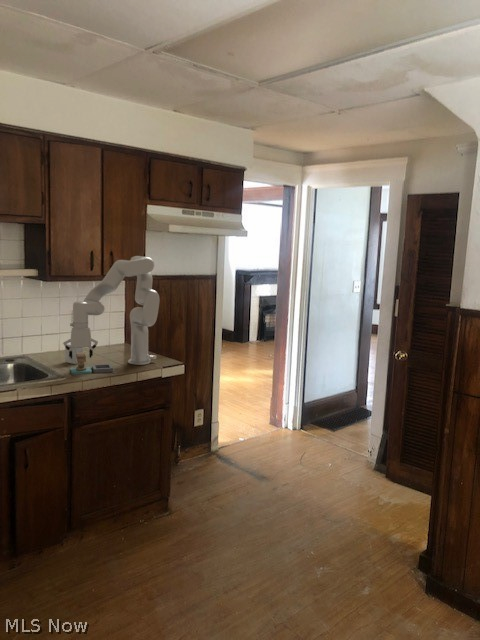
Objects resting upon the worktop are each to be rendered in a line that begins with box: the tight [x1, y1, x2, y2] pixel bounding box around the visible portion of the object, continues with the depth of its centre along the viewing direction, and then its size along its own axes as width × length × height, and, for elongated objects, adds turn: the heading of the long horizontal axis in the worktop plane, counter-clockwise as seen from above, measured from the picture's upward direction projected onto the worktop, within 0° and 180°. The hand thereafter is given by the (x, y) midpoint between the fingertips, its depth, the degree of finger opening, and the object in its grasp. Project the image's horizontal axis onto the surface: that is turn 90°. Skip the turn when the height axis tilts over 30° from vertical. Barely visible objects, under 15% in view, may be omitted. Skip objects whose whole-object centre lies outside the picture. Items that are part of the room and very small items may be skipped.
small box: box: [64, 342, 84, 365], centre depth 295 cm, size 8×6×10 cm
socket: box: [91, 363, 115, 374], centre depth 282 cm, size 10×10×2 cm
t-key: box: [76, 352, 87, 371], centre depth 277 cm, size 9×5×8 cm, turn 21°
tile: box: [69, 366, 93, 375], centre depth 278 cm, size 10×10×1 cm
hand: (80, 357), depth 277 cm, fingers open, 9 cm apart
